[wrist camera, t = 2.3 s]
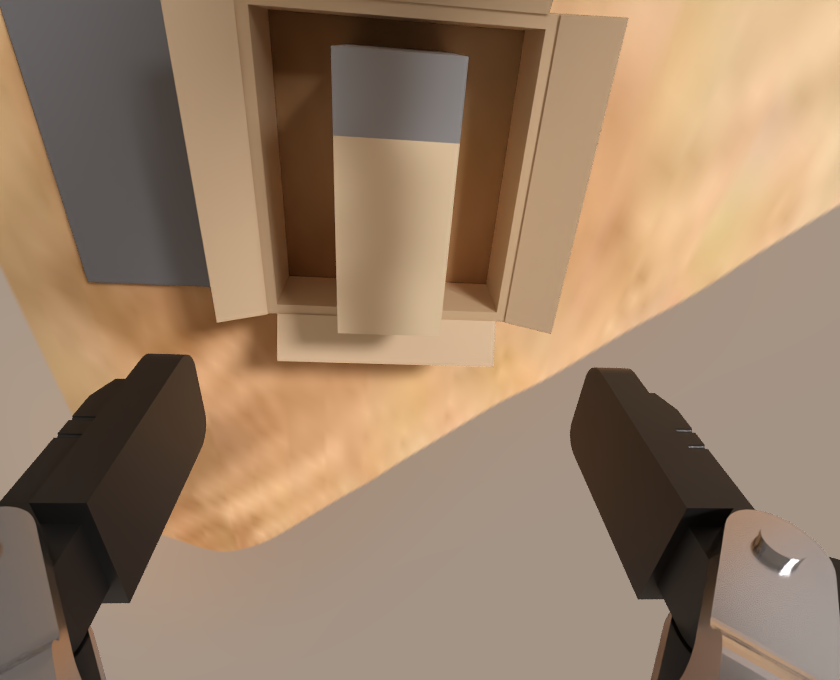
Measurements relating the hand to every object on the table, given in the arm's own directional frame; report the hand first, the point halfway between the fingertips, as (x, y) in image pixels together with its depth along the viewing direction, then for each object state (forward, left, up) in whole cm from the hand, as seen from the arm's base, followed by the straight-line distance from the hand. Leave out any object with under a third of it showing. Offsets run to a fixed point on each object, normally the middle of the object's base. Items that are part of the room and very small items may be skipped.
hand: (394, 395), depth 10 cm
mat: (+15, 0, -21) cm, 26 cm away
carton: (0, 0, -21) cm, 21 cm away
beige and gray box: (0, 0, -21) cm, 21 cm away
